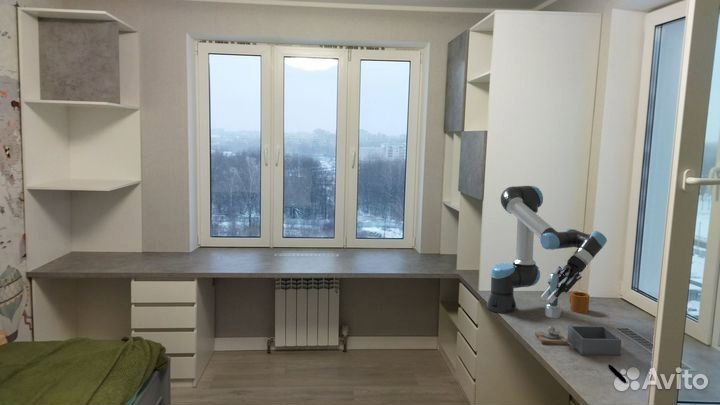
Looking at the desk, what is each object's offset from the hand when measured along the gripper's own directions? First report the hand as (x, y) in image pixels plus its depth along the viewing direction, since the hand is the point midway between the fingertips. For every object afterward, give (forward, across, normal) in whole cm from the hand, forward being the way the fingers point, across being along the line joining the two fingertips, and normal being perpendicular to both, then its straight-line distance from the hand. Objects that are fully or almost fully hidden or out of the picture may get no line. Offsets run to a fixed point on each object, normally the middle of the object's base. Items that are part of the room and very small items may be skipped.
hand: (546, 299), depth 230 cm
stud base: (+11, 0, -16) cm, 19 cm away
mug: (-18, +30, -45) cm, 57 cm away
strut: (+3, 0, -8) cm, 9 cm away
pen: (+10, -37, -17) cm, 42 cm away
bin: (+3, -13, -24) cm, 27 cm away
